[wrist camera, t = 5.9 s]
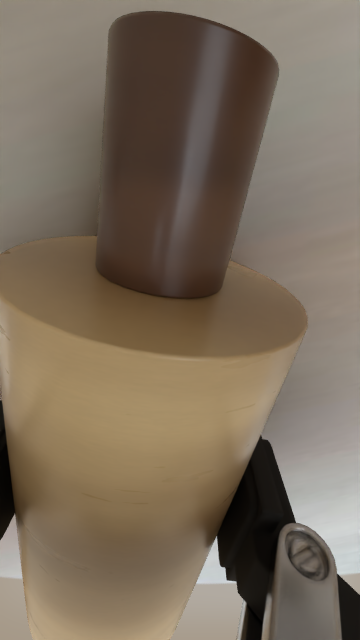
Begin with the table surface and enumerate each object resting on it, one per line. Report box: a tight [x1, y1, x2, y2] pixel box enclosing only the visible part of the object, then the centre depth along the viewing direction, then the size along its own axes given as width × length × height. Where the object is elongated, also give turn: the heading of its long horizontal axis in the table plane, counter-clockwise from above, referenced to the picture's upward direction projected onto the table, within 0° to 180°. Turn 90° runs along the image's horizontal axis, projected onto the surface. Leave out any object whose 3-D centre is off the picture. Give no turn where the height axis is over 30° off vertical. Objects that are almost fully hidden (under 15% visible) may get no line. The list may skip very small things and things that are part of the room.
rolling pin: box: [0, 11, 308, 640], centre depth 9 cm, size 19×6×6 cm, turn 169°
